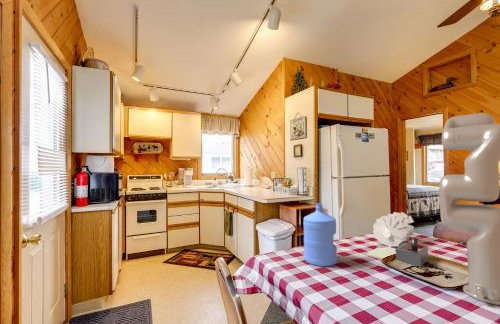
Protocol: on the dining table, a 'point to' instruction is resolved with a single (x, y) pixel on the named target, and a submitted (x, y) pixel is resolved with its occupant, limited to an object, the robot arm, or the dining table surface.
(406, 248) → the c link
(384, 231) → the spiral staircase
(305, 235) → the water jug
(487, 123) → the robot arm
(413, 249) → the stand
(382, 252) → the board
